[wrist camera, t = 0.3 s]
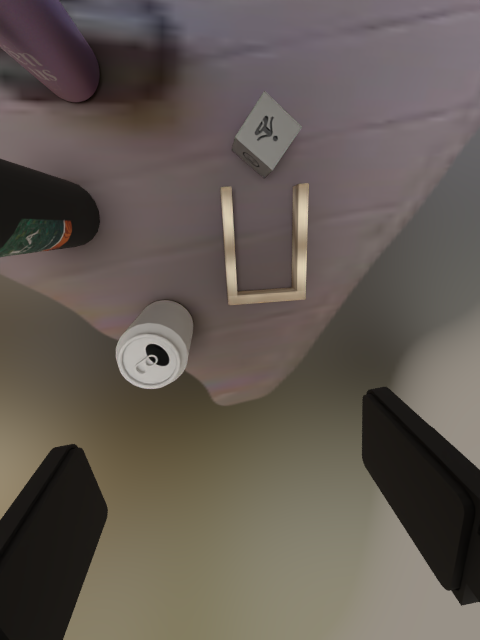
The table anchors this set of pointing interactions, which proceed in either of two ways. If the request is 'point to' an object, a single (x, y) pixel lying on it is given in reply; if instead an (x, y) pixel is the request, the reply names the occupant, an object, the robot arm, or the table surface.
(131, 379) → the can
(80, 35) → the beverage can
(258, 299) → the bay
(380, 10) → the table surface
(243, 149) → the dice cube
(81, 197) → the wine bottle
